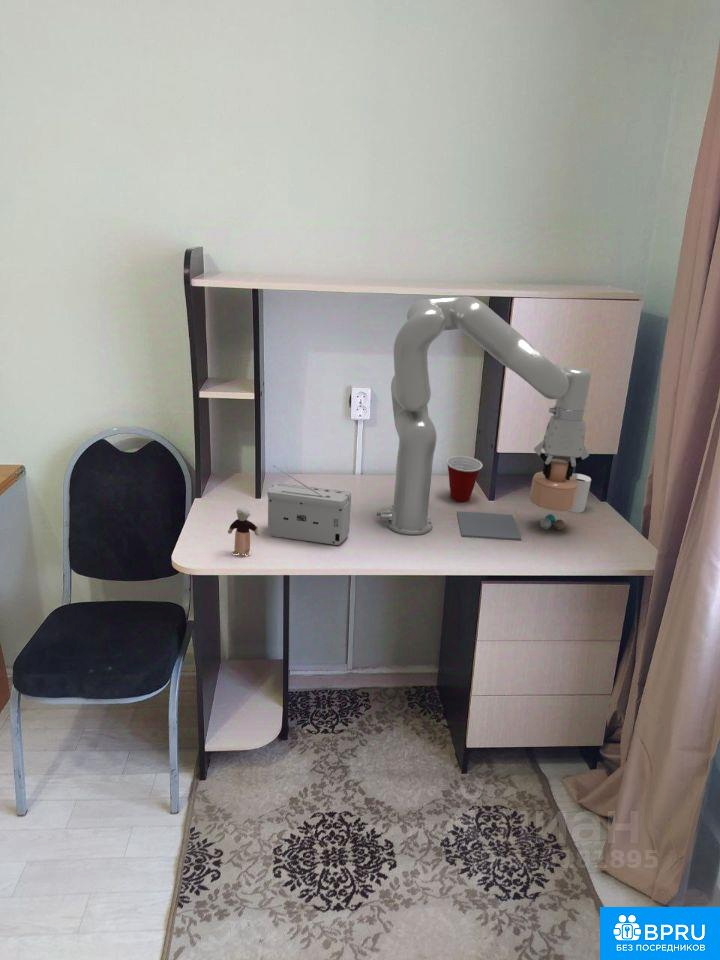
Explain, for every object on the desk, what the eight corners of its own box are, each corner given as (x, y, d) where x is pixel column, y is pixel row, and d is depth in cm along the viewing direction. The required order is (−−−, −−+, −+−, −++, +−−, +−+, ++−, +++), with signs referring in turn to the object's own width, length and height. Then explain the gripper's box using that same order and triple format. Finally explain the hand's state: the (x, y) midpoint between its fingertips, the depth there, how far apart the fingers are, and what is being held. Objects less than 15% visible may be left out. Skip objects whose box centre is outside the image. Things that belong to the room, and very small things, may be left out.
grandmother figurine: (227, 557, 178) (226, 510, 174) (228, 550, 182) (227, 503, 177) (258, 557, 179) (258, 510, 175) (259, 550, 183) (259, 504, 178)
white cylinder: (573, 514, 215) (578, 482, 211) (558, 505, 220) (563, 475, 217) (590, 511, 217) (596, 480, 214) (575, 503, 223) (580, 472, 219)
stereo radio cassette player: (349, 535, 194) (353, 465, 186) (342, 549, 186) (346, 476, 179) (274, 525, 197) (275, 455, 190) (264, 537, 190) (264, 465, 182)
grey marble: (540, 530, 203) (542, 520, 202) (538, 526, 205) (540, 516, 204) (551, 531, 203) (552, 521, 202) (549, 526, 205) (550, 517, 204)
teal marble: (545, 526, 206) (546, 516, 205) (543, 521, 208) (544, 512, 207) (555, 526, 206) (557, 517, 205) (553, 522, 208) (555, 512, 207)
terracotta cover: (534, 508, 197) (541, 467, 192) (526, 492, 208) (533, 453, 204) (578, 512, 196) (587, 471, 192) (568, 495, 208) (576, 456, 203)
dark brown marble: (554, 531, 203) (555, 521, 202) (552, 527, 205) (553, 517, 204) (565, 532, 203) (566, 522, 201) (562, 527, 205) (564, 518, 204)
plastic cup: (450, 506, 215) (454, 468, 211) (437, 493, 225) (441, 456, 220) (484, 504, 218) (489, 467, 214) (469, 491, 228) (474, 455, 223)
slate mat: (461, 536, 196) (461, 534, 196) (456, 512, 211) (457, 511, 211) (521, 540, 196) (521, 538, 196) (512, 516, 211) (512, 514, 211)
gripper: (539, 414, 190) (527, 479, 196) (604, 420, 189) (591, 485, 196) (534, 407, 197) (523, 470, 203) (597, 412, 196) (584, 475, 203)
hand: (556, 476), depth 199 cm, fingers closed on terracotta cover, 5 cm apart
